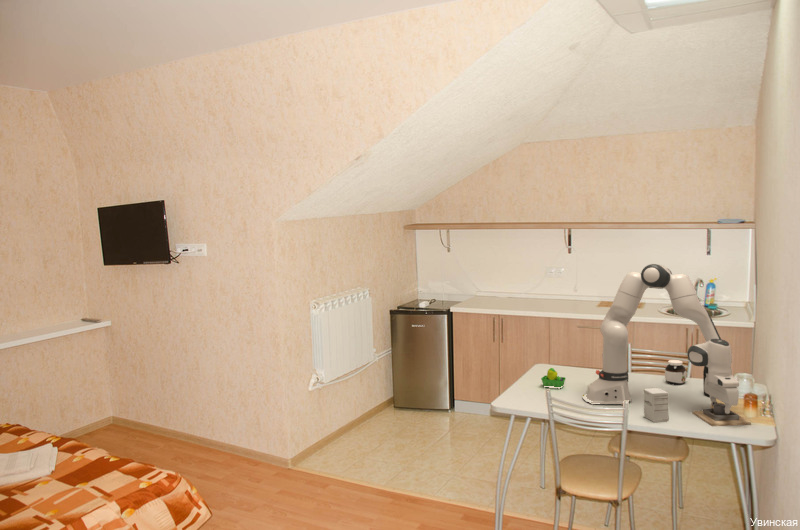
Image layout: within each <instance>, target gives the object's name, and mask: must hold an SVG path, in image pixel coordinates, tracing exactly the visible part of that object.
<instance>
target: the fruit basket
mask: <svg viewBox="0 0 800 530" xmlns="http://www.w3.org/2000/svg"><path fill="white" fill-rule="evenodd" d="M540 379H541V382H542V386H543V385H544V386H554V387H561V386H563V385H565V382H566V377H564V376H559V375H558V372H557V370H555V369H554V368H553V367H550V368H549V369H547V373H546V375H544V376H542V377H541V378H540ZM544 386H543V387H544ZM563 387H564V386H563Z"/></svg>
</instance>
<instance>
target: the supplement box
mask: <svg viewBox="0 0 800 530" xmlns="http://www.w3.org/2000/svg"><path fill="white" fill-rule="evenodd" d="M643 409H644V410H643V411H644V412H643V417H644V418H647V419H648V420H649V421H651V422H653V423H659V422H660V423H661V422H662V423H663V422H669V392H668V391H666V390H664V389H662V388H660V387H654V388H653V387H652V388H644V389H643Z"/></svg>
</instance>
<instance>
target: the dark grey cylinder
mask: <svg viewBox="0 0 800 530" xmlns="http://www.w3.org/2000/svg"><path fill="white" fill-rule="evenodd" d="M712 408H714V415H716V416H719V415H728V414H726V413H724V408H725V403H723V402H721V403H719V402H717V403H715V404H713V406H712Z"/></svg>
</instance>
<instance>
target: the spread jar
mask: <svg viewBox="0 0 800 530" xmlns="http://www.w3.org/2000/svg"><path fill="white" fill-rule="evenodd" d="M664 379H665V382H666V383H668V384H669V383H670V385H672V384H674V385H673V386H681V385H683V384H685V382H686V381H687V370H686V367H685V366H684V365H683V361H682V360H678V359H670V360H668V361H667V365H666V367H665V369H664Z"/></svg>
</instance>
